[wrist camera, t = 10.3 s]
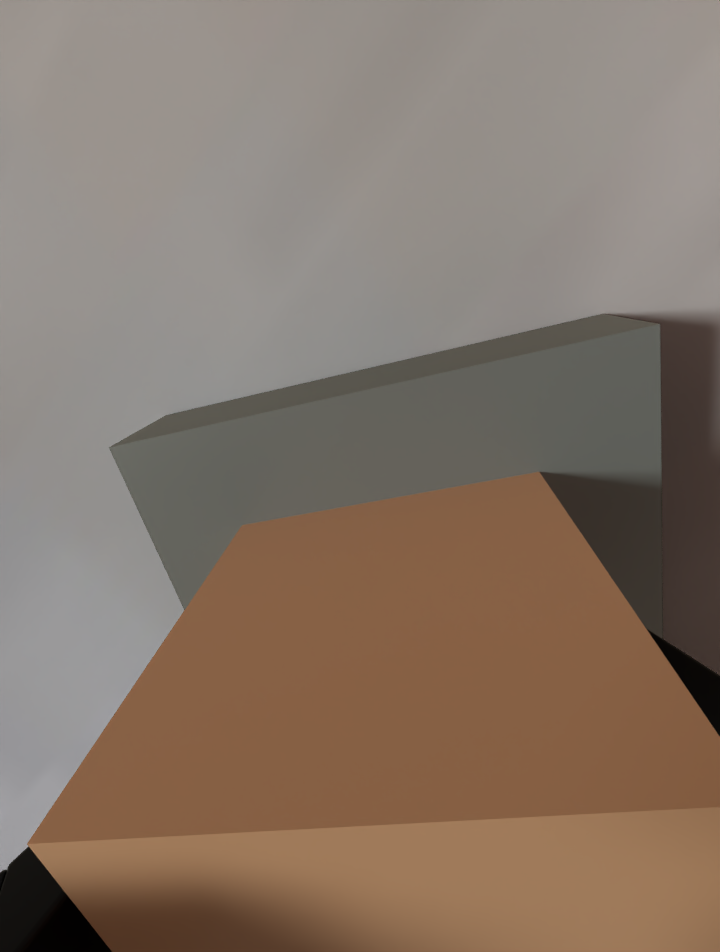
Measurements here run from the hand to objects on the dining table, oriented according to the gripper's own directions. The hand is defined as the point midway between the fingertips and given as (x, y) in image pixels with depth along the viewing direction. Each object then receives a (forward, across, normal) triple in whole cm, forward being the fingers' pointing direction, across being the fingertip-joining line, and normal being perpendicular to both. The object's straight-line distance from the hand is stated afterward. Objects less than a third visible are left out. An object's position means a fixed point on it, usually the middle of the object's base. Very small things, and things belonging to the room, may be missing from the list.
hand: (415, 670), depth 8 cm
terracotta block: (+1, 0, 0) cm, 1 cm away
